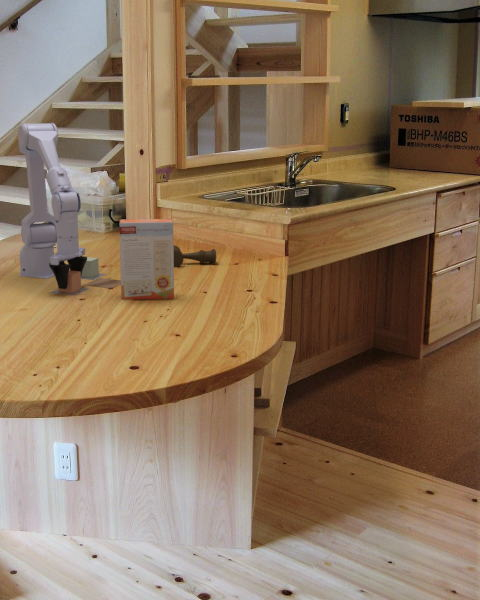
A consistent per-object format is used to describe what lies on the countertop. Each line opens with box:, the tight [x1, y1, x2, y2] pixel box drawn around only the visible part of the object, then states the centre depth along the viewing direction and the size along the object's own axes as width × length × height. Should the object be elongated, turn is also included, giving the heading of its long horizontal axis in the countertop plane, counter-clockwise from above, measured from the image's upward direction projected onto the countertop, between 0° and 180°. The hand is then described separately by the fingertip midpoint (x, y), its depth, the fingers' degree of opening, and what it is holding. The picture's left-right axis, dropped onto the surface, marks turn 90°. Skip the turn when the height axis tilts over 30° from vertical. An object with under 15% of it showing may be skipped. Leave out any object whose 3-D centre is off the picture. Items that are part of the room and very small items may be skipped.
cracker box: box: [118, 218, 175, 301], centre depth 209 cm, size 14×6×21 cm, turn 97°
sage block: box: [81, 256, 100, 278], centre depth 232 cm, size 4×4×5 cm
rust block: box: [57, 269, 82, 293], centre depth 215 cm, size 4×4×5 cm
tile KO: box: [48, 287, 90, 296], centre depth 216 cm, size 8×8×1 cm
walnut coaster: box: [84, 277, 121, 289], centre depth 224 cm, size 9×9×1 cm
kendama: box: [173, 244, 217, 268], centre depth 251 cm, size 6×10×20 cm
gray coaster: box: [81, 272, 107, 281], centre depth 233 cm, size 8×8×1 cm
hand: (69, 285), depth 215 cm, fingers open, 6 cm apart
